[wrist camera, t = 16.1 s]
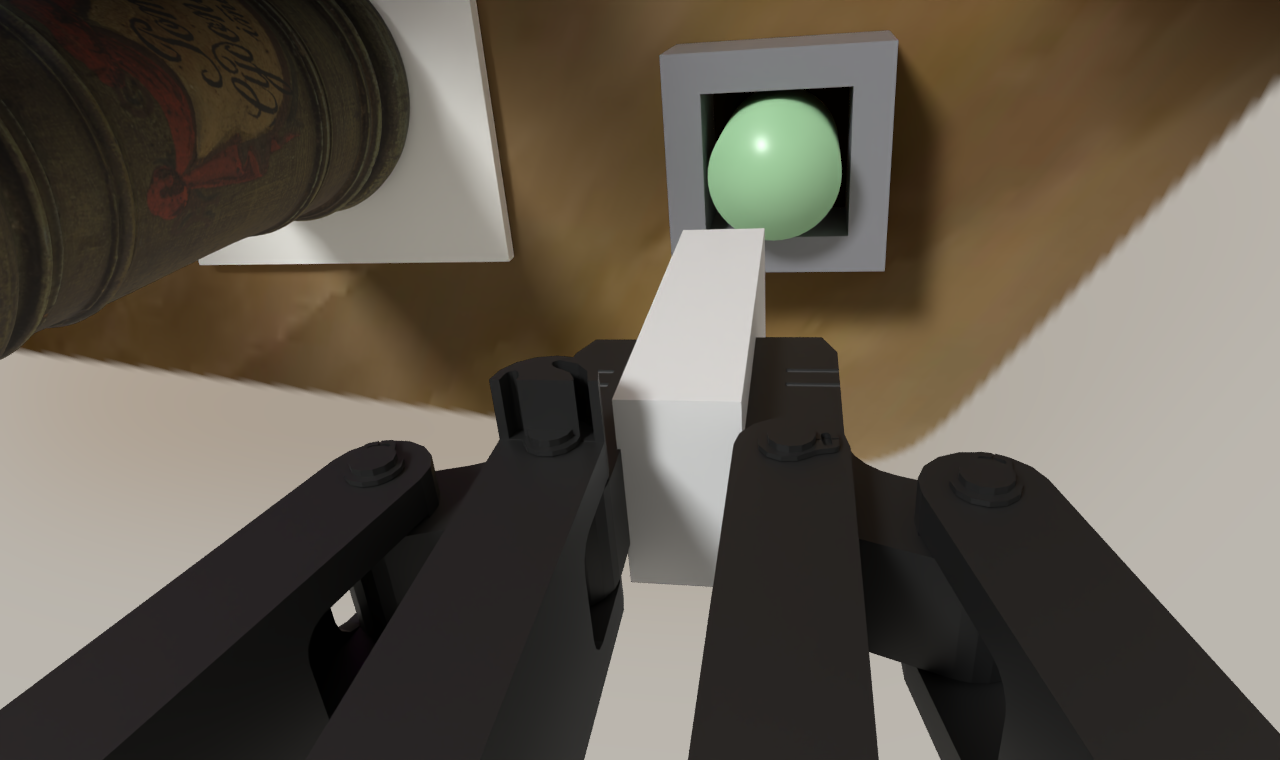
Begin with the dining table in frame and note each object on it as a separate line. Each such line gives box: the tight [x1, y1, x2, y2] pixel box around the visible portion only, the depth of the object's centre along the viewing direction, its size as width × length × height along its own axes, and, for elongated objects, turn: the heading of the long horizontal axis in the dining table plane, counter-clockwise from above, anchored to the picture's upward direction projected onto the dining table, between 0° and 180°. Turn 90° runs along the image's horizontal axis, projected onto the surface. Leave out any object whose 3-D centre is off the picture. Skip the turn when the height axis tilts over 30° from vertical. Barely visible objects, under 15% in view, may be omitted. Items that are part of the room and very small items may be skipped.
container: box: [0, 0, 410, 359], centre depth 23 cm, size 9×9×18 cm
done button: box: [708, 89, 842, 241], centre depth 27 cm, size 4×4×4 cm
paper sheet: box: [198, 0, 514, 265], centre depth 31 cm, size 14×14×1 cm
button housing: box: [659, 30, 898, 272], centre depth 28 cm, size 7×7×4 cm
